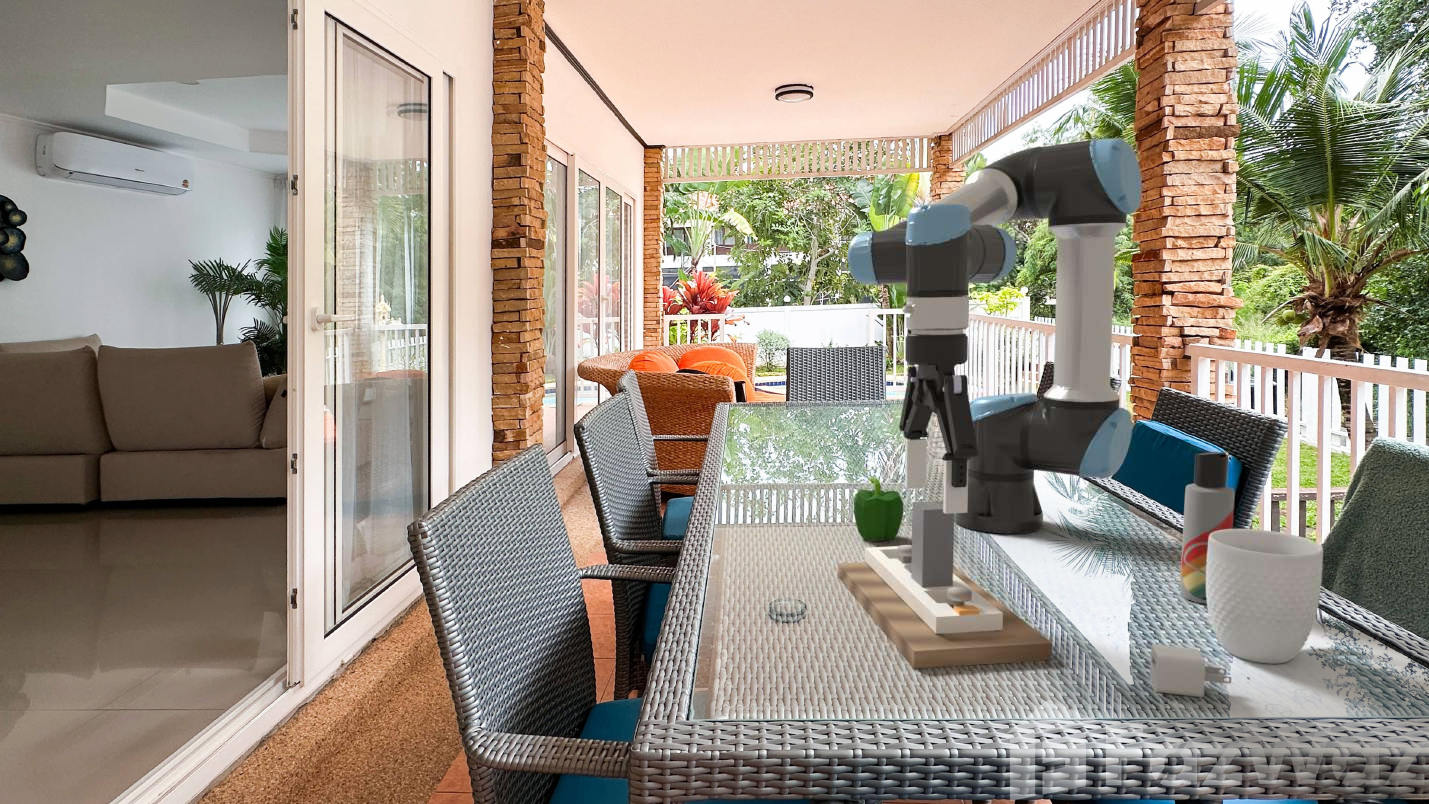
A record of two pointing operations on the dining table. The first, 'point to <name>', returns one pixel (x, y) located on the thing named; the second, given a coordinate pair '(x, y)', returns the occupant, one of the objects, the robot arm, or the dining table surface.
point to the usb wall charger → (1181, 671)
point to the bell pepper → (878, 513)
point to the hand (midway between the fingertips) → (934, 499)
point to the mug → (1262, 592)
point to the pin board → (945, 647)
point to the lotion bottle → (1204, 520)
